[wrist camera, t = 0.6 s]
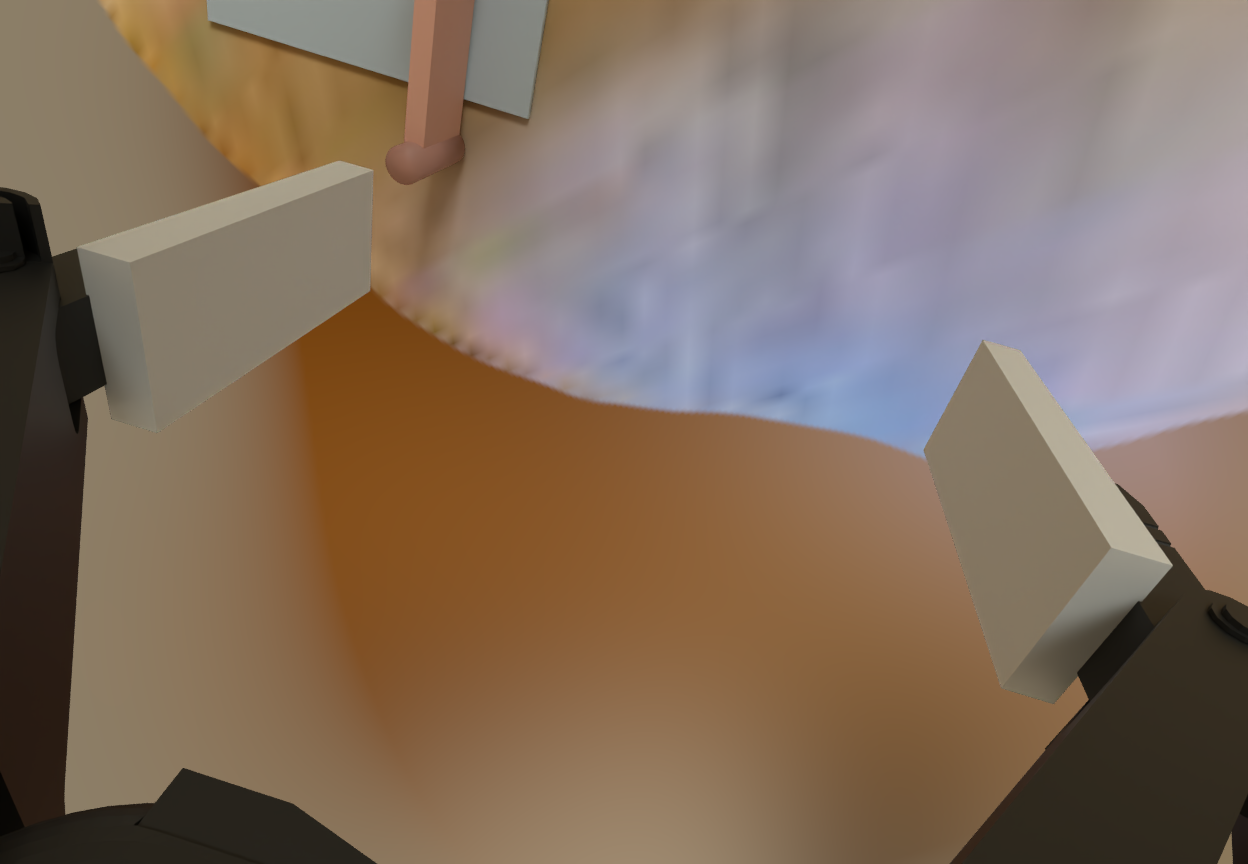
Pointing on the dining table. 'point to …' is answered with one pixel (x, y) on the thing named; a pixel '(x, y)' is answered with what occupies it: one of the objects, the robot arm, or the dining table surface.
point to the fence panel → (434, 90)
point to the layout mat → (404, 39)
